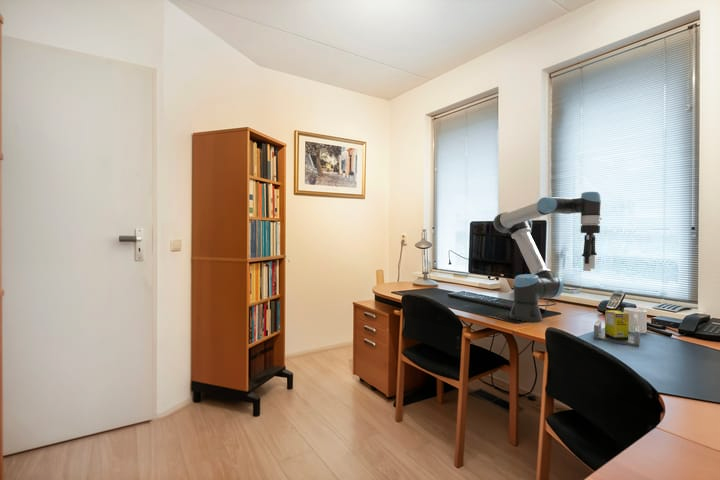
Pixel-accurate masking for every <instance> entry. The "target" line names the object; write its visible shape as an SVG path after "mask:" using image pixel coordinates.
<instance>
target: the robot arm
mask: <svg viewBox="0 0 720 480" xmlns="http://www.w3.org/2000/svg"><path fill="white" fill-rule="evenodd" d="M601 204H602V199H601V193H600V192H599V191H585V192H582V193H581V196H580V197H572V198H571V197H555V196H554V197H552V196H546V197H541V198H540V199H539V200H538V201H537V202H535V203H532V204H529V205H526V206H523V207H520V208H518V209H515V210H512V211H509V212H508V211H503V212H502V213H499V214H497V215H496V216H495V217H494V219H493V226H494V227H493V228H495V230H496V231H498V232H499V233H504V234H509V235H510V237H511V239H513V240H515V242H516V243H517V246H518V248H519V250H520V253H521V255H522V257H523V259H524V261H525V263H526V266H527V267H528V269H529V272H530V273H524V274H518V275H516V276H515V277H514V281H513V305H512V307H511V309H510V312H509V318H510V319H512V318H513V319H512V320H515V319H516V320H515V321H519V320H521V321H520V322H525V321H526V322H527V323H539V322H542V318H543V317H542V313H541V310H540V307H539V299H553V298H557V297H559V296H561V294H562V293H563V290H564V283H563V279H562V278H560V277H558V275H554V273H553V271H552V270H551V269H549V268H548V267H547V265H546V263H545V261H544V259H543V257H542V255H541V252H540V251H539V249H538V246H537V245H536V243H535V241H534V239H533V237H532V235H531V233H532V228H533V221H532V220H534V219H538V218H540V217H543V216H547V215H550V214H563V215H569V214H579V213H580V233H581V234H585V235H584V237H583V238H584V239H583V240H584V242H583V251H582V252H583V253H582V254H581V257H583V265H582V266H583V268H582V270H583V272H591V271H592V270H595V268H596V267H595V265H596V256H597V252H596V235H595V234H600V233H601V226H600V224H601V220H602V219H603V218H602V217H601ZM591 269H592V270H591Z"/></svg>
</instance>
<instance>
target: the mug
mask: <svg viewBox="0 0 720 480" xmlns="http://www.w3.org/2000/svg"><path fill="white" fill-rule="evenodd" d="M623 312H624V313H628V314H629V332H628V333H631V332H632V334H634V331H635V326H640V333H645V334H646V333H647V323H648V322H647V321H648V320H647V319H648V318H647V317H648V310H646V309H642V308H638V307H637V308H636V307H624V308H623Z"/></svg>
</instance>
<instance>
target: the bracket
mask: <svg viewBox="0 0 720 480" xmlns="http://www.w3.org/2000/svg"><path fill="white" fill-rule="evenodd" d="M633 335H634V336H632V335H628V339H614V338H612V337H609V336H607V335H605V331H603V330H602V319H597V320H596V322H595V323H594V324H593V340H598V341H604V342H609V343H615V344H620V345H627V346H632V347H638V348H639V347H640V340H641V334H640V326H635V331H634V333H633Z"/></svg>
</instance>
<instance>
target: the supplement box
mask: <svg viewBox="0 0 720 480" xmlns="http://www.w3.org/2000/svg"><path fill="white" fill-rule="evenodd" d="M604 313H605V314H604V319H605V320H604V332H605V335H607V336H609V337H612V338H614V339H628V336H629V333H630V332H629V314H628V313H624V311H621V310H605V311H604Z"/></svg>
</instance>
